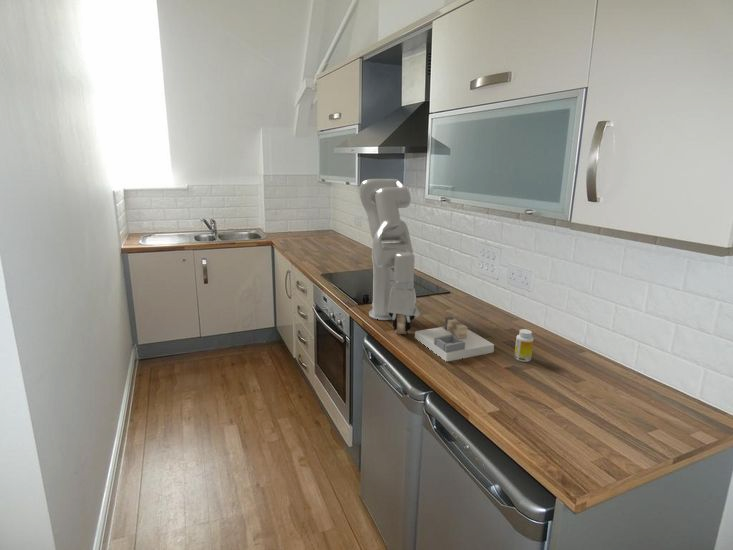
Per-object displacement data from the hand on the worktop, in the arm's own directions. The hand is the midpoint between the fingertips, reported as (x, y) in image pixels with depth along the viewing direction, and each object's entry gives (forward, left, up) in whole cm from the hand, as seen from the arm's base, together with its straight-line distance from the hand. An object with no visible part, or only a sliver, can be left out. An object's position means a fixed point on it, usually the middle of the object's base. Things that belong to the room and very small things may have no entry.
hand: (401, 329), depth 174 cm
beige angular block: (+14, +15, +2) cm, 21 cm away
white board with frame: (+17, +12, -1) cm, 21 cm away
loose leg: (0, 0, -1) cm, 1 cm away
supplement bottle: (+36, +28, -2) cm, 46 cm away
